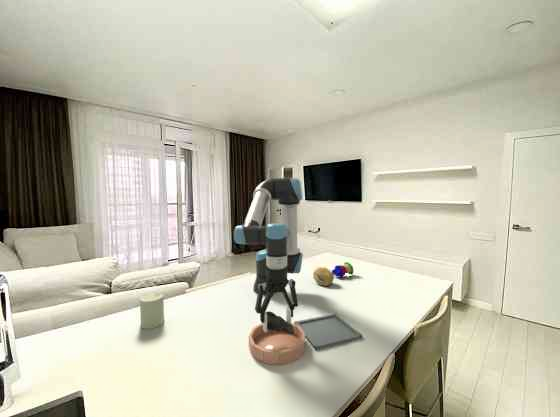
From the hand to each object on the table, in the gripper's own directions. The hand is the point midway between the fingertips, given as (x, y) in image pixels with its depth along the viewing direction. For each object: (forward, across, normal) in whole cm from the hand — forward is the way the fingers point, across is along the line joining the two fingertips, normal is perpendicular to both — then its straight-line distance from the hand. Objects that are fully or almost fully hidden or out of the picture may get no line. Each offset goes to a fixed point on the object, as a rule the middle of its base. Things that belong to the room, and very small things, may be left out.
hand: (277, 328), depth 88 cm
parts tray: (+7, +22, +2) cm, 23 cm away
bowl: (+7, 0, 0) cm, 7 cm away
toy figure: (+7, +68, +56) cm, 88 cm away
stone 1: (+1, 0, 0) cm, 1 cm away
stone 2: (+7, +48, +49) cm, 69 cm away
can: (+7, -45, +34) cm, 57 cm away
